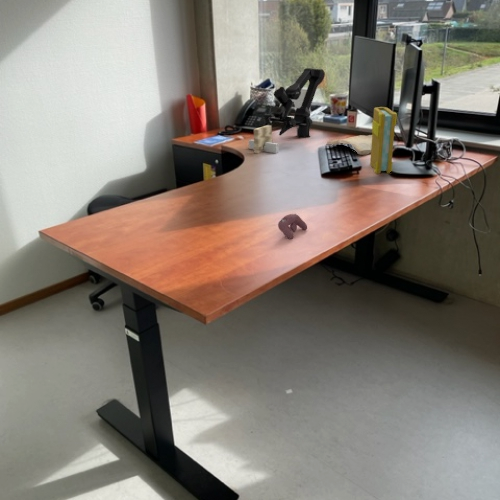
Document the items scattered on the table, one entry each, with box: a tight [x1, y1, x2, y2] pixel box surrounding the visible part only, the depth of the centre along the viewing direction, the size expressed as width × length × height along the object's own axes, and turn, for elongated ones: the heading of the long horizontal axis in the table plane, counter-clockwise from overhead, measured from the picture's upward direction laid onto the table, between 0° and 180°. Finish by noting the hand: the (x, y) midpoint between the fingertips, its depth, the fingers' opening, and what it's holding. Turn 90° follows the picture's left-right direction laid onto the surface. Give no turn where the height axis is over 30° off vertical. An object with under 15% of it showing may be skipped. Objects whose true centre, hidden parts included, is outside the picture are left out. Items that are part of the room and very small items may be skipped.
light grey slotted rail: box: [248, 139, 279, 154], centre depth 249 cm, size 18×2×4 cm, turn 50°
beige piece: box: [325, 134, 372, 156], centre depth 244 cm, size 24×8×20 cm
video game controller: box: [277, 213, 308, 240], centre depth 153 cm, size 10×5×7 cm, turn 142°
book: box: [369, 106, 398, 174], centre depth 208 cm, size 17×7×25 cm, turn 179°
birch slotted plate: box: [253, 124, 273, 154], centre depth 247 cm, size 12×2×12 cm, turn 140°
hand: (272, 134), depth 253 cm, fingers open, 9 cm apart
